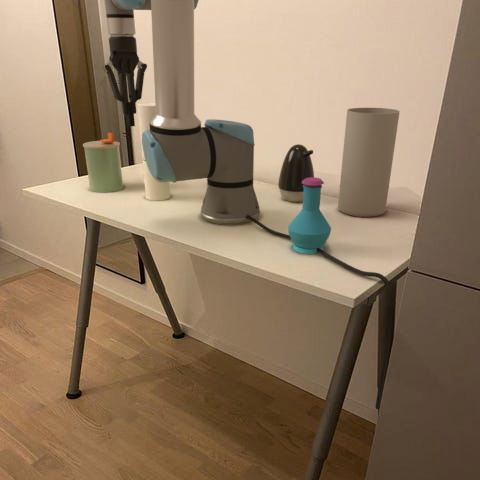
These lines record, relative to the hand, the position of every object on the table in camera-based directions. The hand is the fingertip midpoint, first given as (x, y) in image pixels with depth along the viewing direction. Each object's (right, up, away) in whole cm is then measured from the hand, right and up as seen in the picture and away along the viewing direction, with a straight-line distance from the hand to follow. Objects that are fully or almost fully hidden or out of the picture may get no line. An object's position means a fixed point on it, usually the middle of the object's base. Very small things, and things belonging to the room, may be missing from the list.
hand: (130, 125), depth 152 cm
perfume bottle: (+48, -43, -42) cm, 77 cm away
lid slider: (-7, -5, -2) cm, 9 cm away
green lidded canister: (-8, -18, +4) cm, 20 cm away
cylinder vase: (+66, -30, -17) cm, 74 cm away
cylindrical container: (+9, -23, -5) cm, 25 cm away
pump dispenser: (+49, -24, -8) cm, 55 cm away
